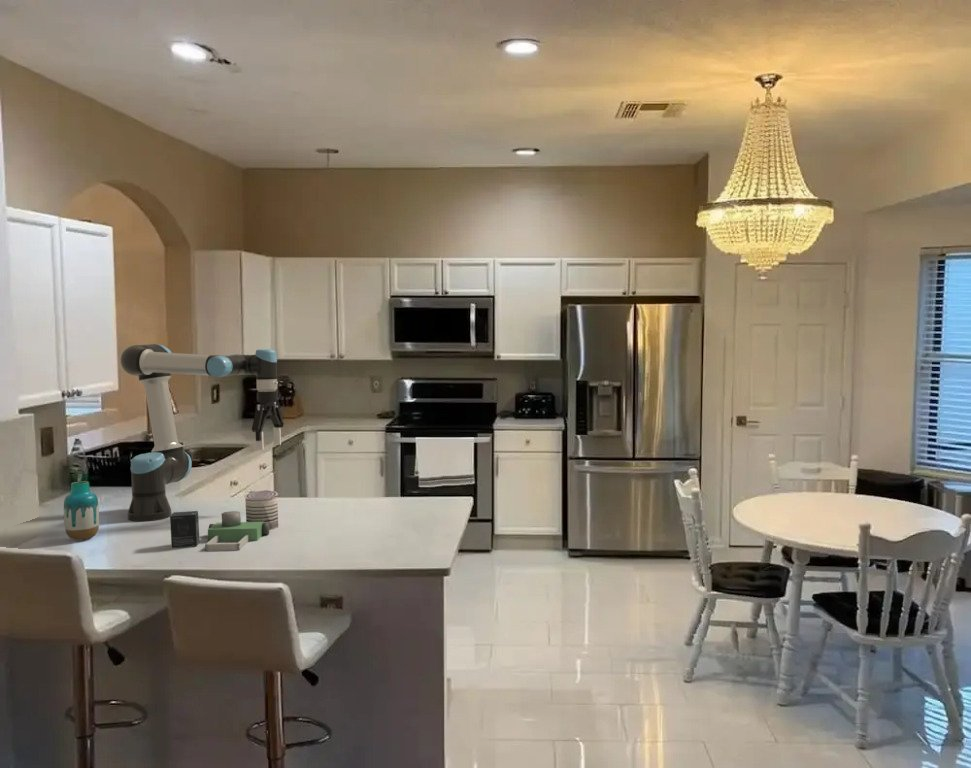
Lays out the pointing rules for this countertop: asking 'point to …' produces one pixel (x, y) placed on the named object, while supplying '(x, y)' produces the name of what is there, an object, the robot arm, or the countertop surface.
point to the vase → (81, 512)
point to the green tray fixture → (234, 532)
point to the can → (262, 507)
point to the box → (184, 529)
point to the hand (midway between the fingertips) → (268, 447)
